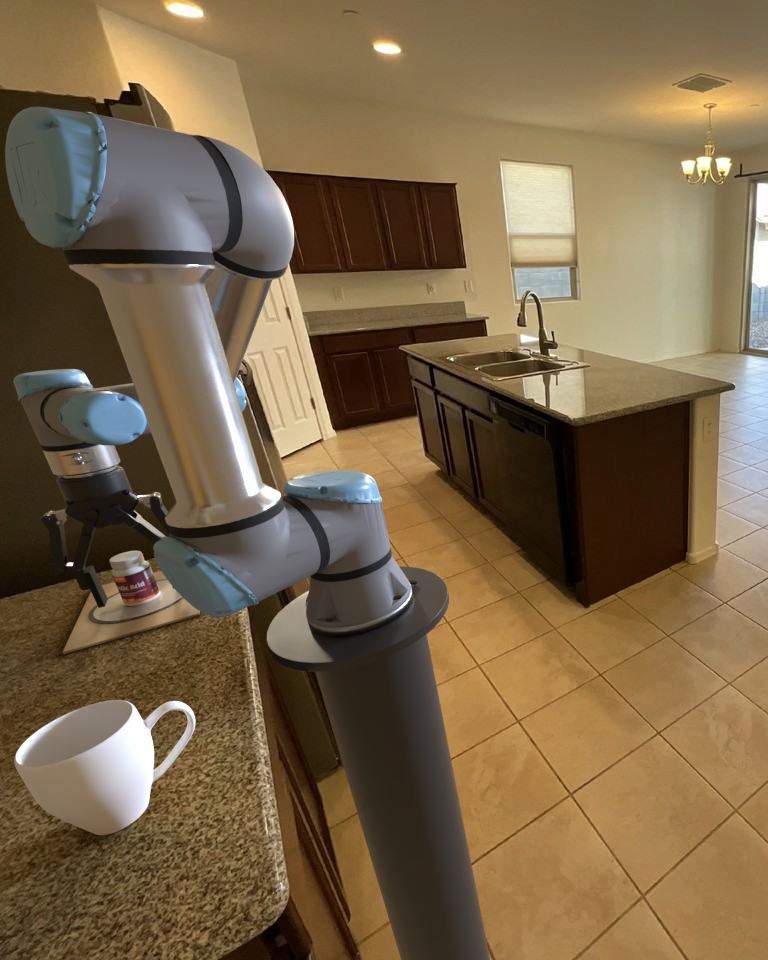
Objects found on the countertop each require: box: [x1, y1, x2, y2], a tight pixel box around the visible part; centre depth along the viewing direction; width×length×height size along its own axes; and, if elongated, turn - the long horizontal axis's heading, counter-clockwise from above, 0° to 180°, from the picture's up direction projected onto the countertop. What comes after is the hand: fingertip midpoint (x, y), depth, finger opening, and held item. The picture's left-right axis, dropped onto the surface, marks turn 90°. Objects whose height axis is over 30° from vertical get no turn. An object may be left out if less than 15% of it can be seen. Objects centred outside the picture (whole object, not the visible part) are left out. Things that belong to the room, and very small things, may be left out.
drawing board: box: [62, 570, 201, 655], centre depth 90 cm, size 16×22×1 cm
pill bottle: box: [108, 550, 160, 606], centre depth 88 cm, size 5×5×8 cm
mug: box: [13, 699, 196, 836], centre depth 53 cm, size 12×8×11 cm
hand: (141, 593), depth 89 cm, fingers open, 9 cm apart
